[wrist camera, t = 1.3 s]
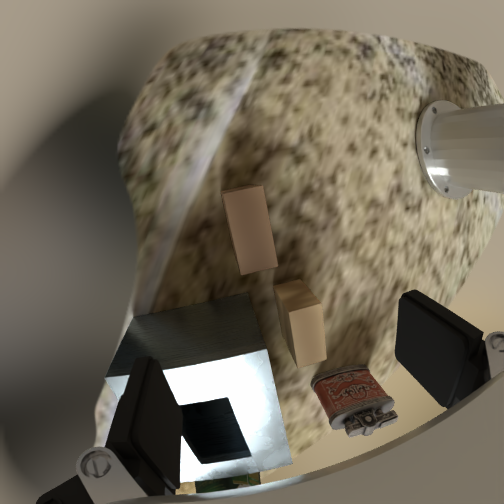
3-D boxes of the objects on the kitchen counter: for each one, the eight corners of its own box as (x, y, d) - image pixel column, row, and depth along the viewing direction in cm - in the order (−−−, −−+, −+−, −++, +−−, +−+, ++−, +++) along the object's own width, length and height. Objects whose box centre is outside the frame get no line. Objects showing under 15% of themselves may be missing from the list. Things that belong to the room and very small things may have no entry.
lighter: (309, 392, 32) (336, 449, 23) (311, 373, 31) (342, 431, 22) (364, 379, 33) (400, 427, 24) (368, 360, 32) (408, 408, 23)
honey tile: (300, 278, 28) (321, 303, 22) (306, 328, 30) (326, 359, 24) (273, 285, 28) (288, 312, 22) (282, 335, 29) (297, 368, 24)
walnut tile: (250, 184, 25) (262, 185, 19) (263, 247, 27) (278, 266, 21) (220, 191, 25) (223, 193, 19) (234, 254, 26) (241, 275, 21)
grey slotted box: (247, 292, 27) (266, 349, 18) (273, 403, 32) (292, 463, 22) (133, 317, 26) (104, 377, 17) (182, 420, 31) (180, 482, 21)
